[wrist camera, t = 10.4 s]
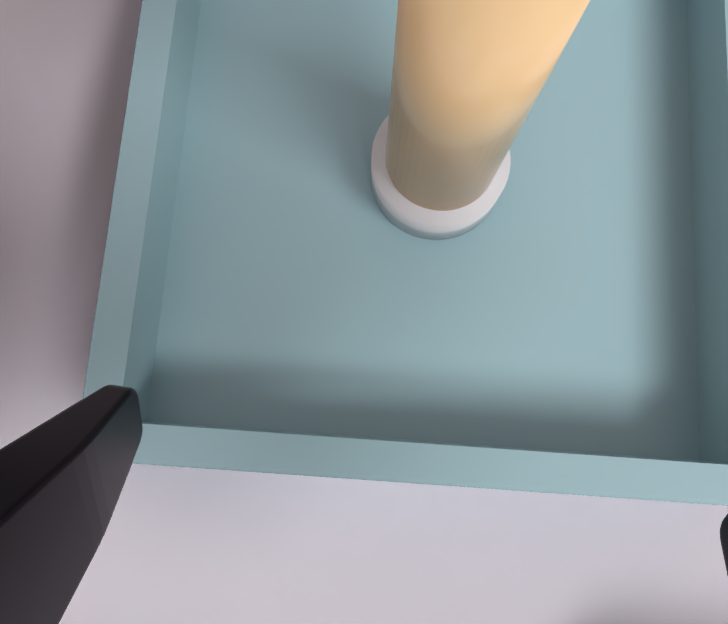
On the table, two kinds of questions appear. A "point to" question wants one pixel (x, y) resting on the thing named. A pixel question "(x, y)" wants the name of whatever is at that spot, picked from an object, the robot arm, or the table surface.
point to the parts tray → (422, 261)
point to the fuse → (461, 105)
